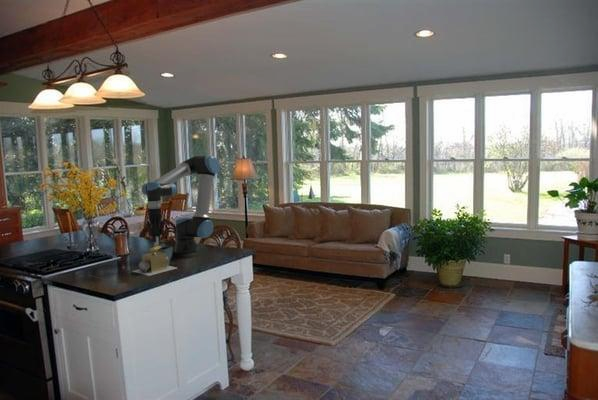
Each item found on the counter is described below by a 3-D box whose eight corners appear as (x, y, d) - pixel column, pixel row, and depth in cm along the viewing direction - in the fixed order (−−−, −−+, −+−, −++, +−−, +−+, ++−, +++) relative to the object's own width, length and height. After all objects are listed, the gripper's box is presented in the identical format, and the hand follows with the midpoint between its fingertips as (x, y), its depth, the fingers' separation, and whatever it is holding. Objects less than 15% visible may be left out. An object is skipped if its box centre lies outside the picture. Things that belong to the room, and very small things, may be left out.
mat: (131, 272, 272) (131, 271, 272) (160, 264, 286) (160, 263, 286) (149, 276, 260) (149, 275, 260) (178, 268, 275) (178, 267, 275)
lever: (160, 246, 284) (160, 243, 284) (167, 246, 283) (166, 243, 283) (147, 251, 270) (147, 249, 270) (155, 251, 269) (154, 249, 269)
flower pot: (174, 260, 296) (173, 246, 294) (165, 264, 287) (164, 249, 286) (162, 260, 298) (161, 246, 297) (153, 263, 290) (152, 249, 289)
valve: (136, 272, 269) (134, 253, 268) (163, 265, 283) (162, 247, 282) (145, 274, 263) (143, 255, 262) (172, 267, 277) (171, 249, 276)
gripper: (148, 209, 271) (150, 250, 274) (167, 207, 281) (169, 246, 284) (141, 208, 276) (143, 248, 279) (160, 206, 286) (162, 244, 288)
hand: (156, 247), depth 281 cm, fingers closed
